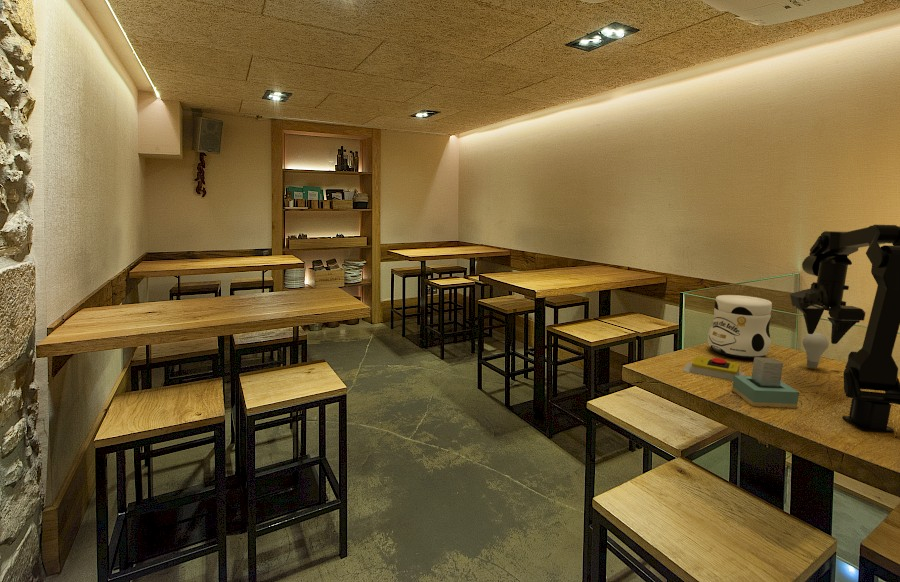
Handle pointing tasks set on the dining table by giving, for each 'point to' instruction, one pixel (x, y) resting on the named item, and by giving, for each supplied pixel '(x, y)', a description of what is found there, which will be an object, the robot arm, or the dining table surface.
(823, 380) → the dining table surface
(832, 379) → the dining table surface
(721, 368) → the emergency button
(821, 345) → the lightbulb
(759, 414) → the dining table surface
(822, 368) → the dining table surface
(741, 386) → the socket block
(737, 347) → the milk container
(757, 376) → the grey rectangular block
